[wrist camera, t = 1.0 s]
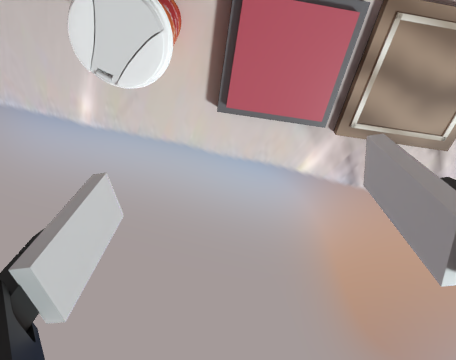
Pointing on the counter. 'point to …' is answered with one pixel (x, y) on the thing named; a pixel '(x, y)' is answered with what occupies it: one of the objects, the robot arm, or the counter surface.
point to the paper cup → (124, 38)
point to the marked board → (406, 78)
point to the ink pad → (288, 57)
